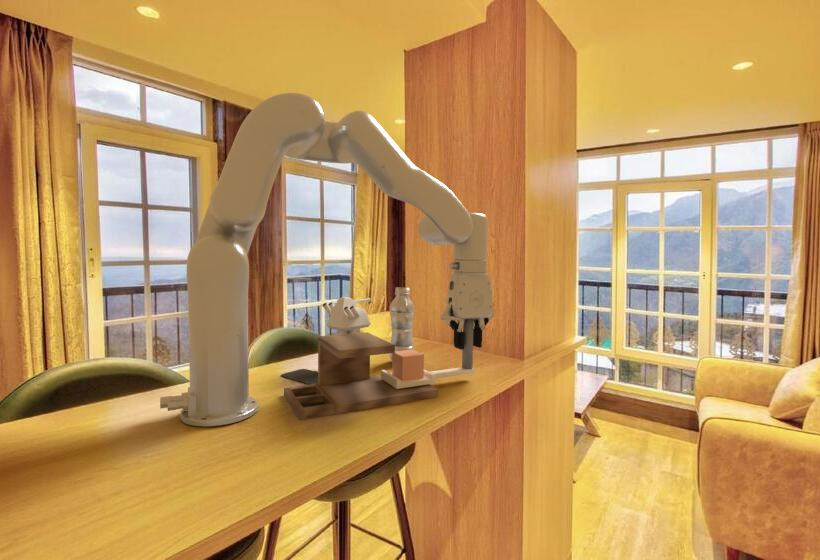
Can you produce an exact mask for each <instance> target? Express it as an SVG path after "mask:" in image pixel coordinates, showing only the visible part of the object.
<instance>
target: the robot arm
mask: <svg viewBox="0 0 820 560" xmlns="http://www.w3.org/2000/svg"><path fill="white" fill-rule="evenodd" d="M285 157H287V158H291V159H294V160H303V161H312V162H321V163H330V164H331V163H332V164H353V163H356V165H357V166H358V167H359V168H360V169H361V170H362V171H363V172H364V173H365V174H366V175H367V177H369V179H370V180H371V181H372V182H373V183H374V184H375V186H377V187H378V189H379V191H381V192H382V193H383V194H385V195H386V196H388V197H391V198H392V199H396V200H398V201H401V202H405V203H407V204H409V205H411V206H413V207H415V208H416V209H417V210H419V211H420V212H421V213H423V214H424V215H423V216H422V217H421V218H420V219H419V221H418V224H417V233H418V235H419V237H420V238H421V239H422V241H423V242H425V243H426V244H429V245H431V246H446V245H451V246H452V245H453V260H452V262H450V263H449V265H448V267H449V269H450V270H452V273H451V274H450V276H449V281H448V287H447V294H446V295H447V296H446V308H445V310H444V311H443V313H442V315H441V320H442V321H443V322H445V323H447V325H449V327H450V328H451V330H452V331H453V347H454V348H456V349H458V350H461V351H462V350H463V349H464V338H465V333H464V332H463V325H464V320H465V319H474V330H473V347H476V348H482V347H483V345H482V344H483V331H484V330H485V329H486V326H487V324H488V323H489V321H490V320H492V318H494V317H495V312H494V310H493V308H494V307H493V287H492V281H491V277H490V274H489V273H487V263H488V261H487V257H488V256H487V254H488V228H489V227H488V225H489V223H488V221H489V219H488V217H487V216H486V214H484V213H480V212H469V211H468V209H467V208H466V206H465V205H464V204H463V203H462V202H461V201H460V200H459V198H458V197H457V196H456V194H455V193H454V192H453V191H452V190H451V189H449V187H448V186H447V185H445V184H444V183H443V182H441V181H440V180H438V179H436V178H435V177H433V176H432V175H430V174H429V173H427V171H425V170H423V169H422V168H419V167H418V166H416V164H414V163H413V162H412V161H411V160H410V158H409V157H408V156H407V155H406V154H405V152H403V150H402V149H401V148H400V147H399V145H398V144H397V143H396V142H395V141H394V140H393V139H392V137H391V136H390V135H389V134H388V133H387V131H386V130H385V129H384V128H383V127H382V126H381V124H380V123H379V122H378V121H377V120H376V119H375V118H374V117H373V116H372V115H371V114H369V113H368V112H367V111H364V110H354V111H351V112H349V113H348V114H346V115H344V116H343V117H342V118H341V119H340V120H339V121H338V122H331V121H326V117H325V113H324V110H323V108H322V106H321V105H320V103H319V102H318V101H317V100H315V98H313V97H312V96H309V95H307V94H304V93H300V92H299V93H298V92H286V93H280V94H276V95H272V96H271V97H268V98H266V99H265V100H263V101H261V102H260V103H259V104H257V105H256V106H255V107H254V108H253V109H252V110H251V111H249V113H248V115H246V117H245V119H243V121H242V123H241V125H240V126H239V129H238V131H237V132H236V136H235V137H234V140H233V143H232V145H231V148H230V150H229V152H228V155H227V157H226V160H225V163H224V165H223V169H222V171H221V173H220V176H219V178H218V181H217V183H216V185H215V187H214V189H213V190H212V192H211V193H210V197H209V202H208V206H207V209H206V211H205V215H204V217H203V220H202V223H201V225H200V228H199V232H198V235H197V237H196V240H195V243H194V244H193V245H192V247H191V248H190V250H189V252H188V255H187V260H186V284H187V285H186V286H187V305H188V306H187V307H188V308H187V309H188V311H187V312H188V313H187V314H188V316H187V317H188V343H189V344H188V347H189V348H188V350H189V351H188V353H189V355H188V356H189V360H188V361H189V386H188V387H187V392H186V391H185V392H181V394H178V395H168V396H160V397H159V407H160V410H161V409H167V411H168V412H169V411H176V410H180V413H179V416H180V417H179V419H180V421H181V422H183V424H186V425H189V426H193V427H217V426H219V427H220V426H224V425H225V426H226V425H230V424H235V423H238V422H241V421H244V420H246V419H248V418H251V416H254V415H255V414H256V412H257V411H258V409H259V402H258V401H257V399H255V398H254V397H251V396H249V395H250V394H249V391H250V389H249V384H250V383H249V376H250V375H249V283H250V263H249V257H248V254H249V251H250V248H251V246H252V242H253V239H254V236H255V234H256V231H257V227H258V226H259V224H260V223H261V222H262V221H263V219H264V216H265V214H266V210H267V205H268V201H269V197H270V195H271V191H272V188H273V186H274V182H275V180H276V177H277V175H278V172H279V170H280V167H281V165H282V162H283V160H284V158H285ZM452 317H453V318H452Z"/></svg>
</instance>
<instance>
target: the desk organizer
mask: <svg viewBox="0 0 820 560" xmlns="http://www.w3.org/2000/svg"><path fill="white" fill-rule="evenodd" d="M317 337H318V339H317V341H318V342H317V348H318V349H317V360H318V361H317V365H318V367H317V372H318V384H310V385H306V384H302V385H296V386H289V387H283V396H284V398H285V399H286V401H287V402H288V404H289V405H290V407H291V408H292V411H294V414H295V415H296V416H297V418H298V420H300V421H303V420H308V419H314V418H320V417H324V416H325V417H326V416H331V415H332V416H333V415H337V414H338V415H339V414H342V413H349V412H355V411H362V410H369V409H374V408H380V407H385V405H386V406H392V405H397V403H398V404H402V403H403V404H404V403H409V402H416V401H420V400H421V401H422V400H426V399H433V397H434V398H438V397H437V396H439V395H440V393H439V390H440V389H438V388H437V387H435V386H434V385H433V384H427V385H420V386H414V387H407V388H400V389H396V388H394V387H393V386H392V385H390V384H389V383H387V382H386V381H384V380H383V379H381V374H380V375H374V376H371V375H370V374H371V366H370V365H371V356H378V355H387V354H389V353H395V345H394V344H391V342H389V341H386V340H385V339H382V338H381V337H378V336H376V335H374V334H372V333H369V332H360V333H354V334H341V335H337V334H330V335H328V334H327V335H319V336H317ZM391 404H392V405H391Z"/></svg>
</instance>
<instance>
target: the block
mask: <svg viewBox="0 0 820 560" xmlns="http://www.w3.org/2000/svg"><path fill="white" fill-rule="evenodd" d="M391 362H392V363H391V367H392V368H391V372H392V375H394V376H395V377H397V378H399V379H400V380H402V381H405V380H412V379H419V378H424V369H425V367H424V366H425V354H424V353H421V352H420V351H417V350H415V349H414V350H404V351H395V353H392V361H391Z"/></svg>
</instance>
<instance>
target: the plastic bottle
mask: <svg viewBox="0 0 820 560" xmlns="http://www.w3.org/2000/svg"><path fill="white" fill-rule="evenodd" d="M394 291H395V292H394V295H395V297H394V299H392V301H391V303H390V305H389V315H390V321H391V335H390V336H391V338H390V343H391V344H394V345H395V351H404V350H415V348H414V345H413V344H414V343H413V341H414V340H413V322H414V314H415V306H414V303H413V301H412V300H411V298H410V295H411V291H410V287H406V286H402V287H401V286H398V287H397V286H396V287H395V290H394ZM389 358H390V360H391V362H392V353H389Z"/></svg>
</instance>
